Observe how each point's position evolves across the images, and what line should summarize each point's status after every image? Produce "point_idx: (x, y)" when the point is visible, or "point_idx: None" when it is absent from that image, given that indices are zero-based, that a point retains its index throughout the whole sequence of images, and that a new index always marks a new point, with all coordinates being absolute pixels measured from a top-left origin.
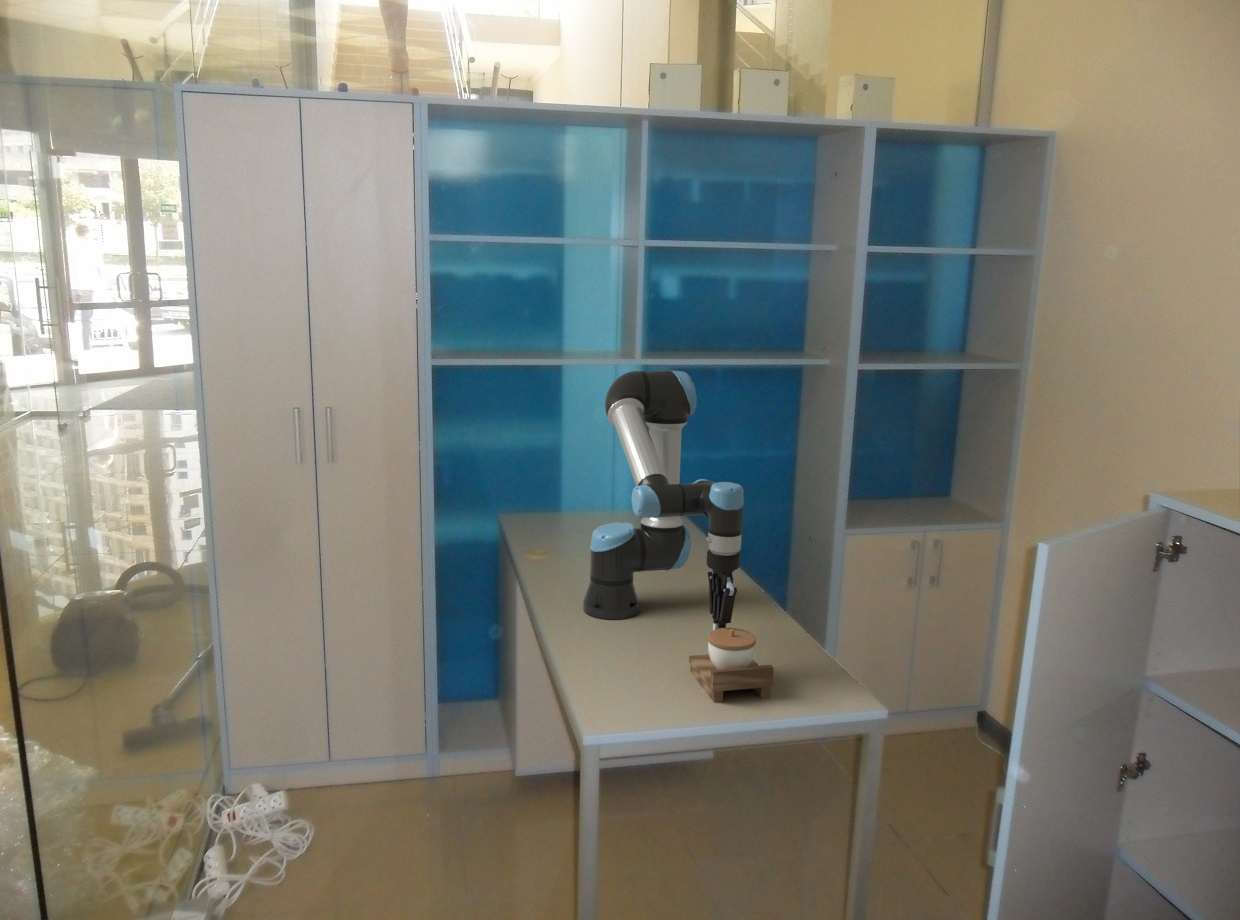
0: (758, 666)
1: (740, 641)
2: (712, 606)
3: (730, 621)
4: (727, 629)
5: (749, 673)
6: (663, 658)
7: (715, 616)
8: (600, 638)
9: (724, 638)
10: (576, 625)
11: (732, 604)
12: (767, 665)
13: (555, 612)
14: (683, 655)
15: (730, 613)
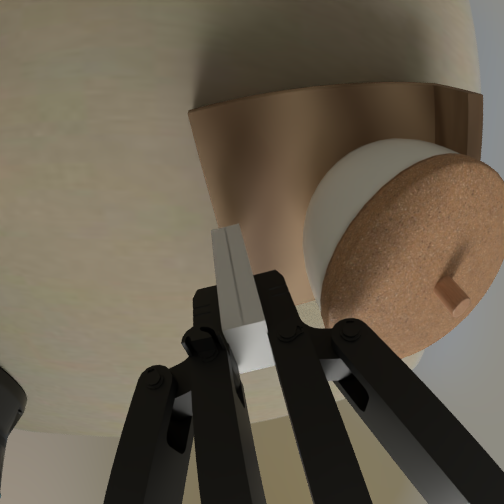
0: (471, 145)
1: (491, 252)
2: (190, 441)
3: (367, 328)
4: (367, 307)
5: None
6: (157, 331)
7: (242, 389)
8: (98, 404)
9: (447, 312)
10: (67, 417)
11: (464, 436)
12: (470, 108)
13: (42, 425)
14: (124, 291)
15: (412, 382)
